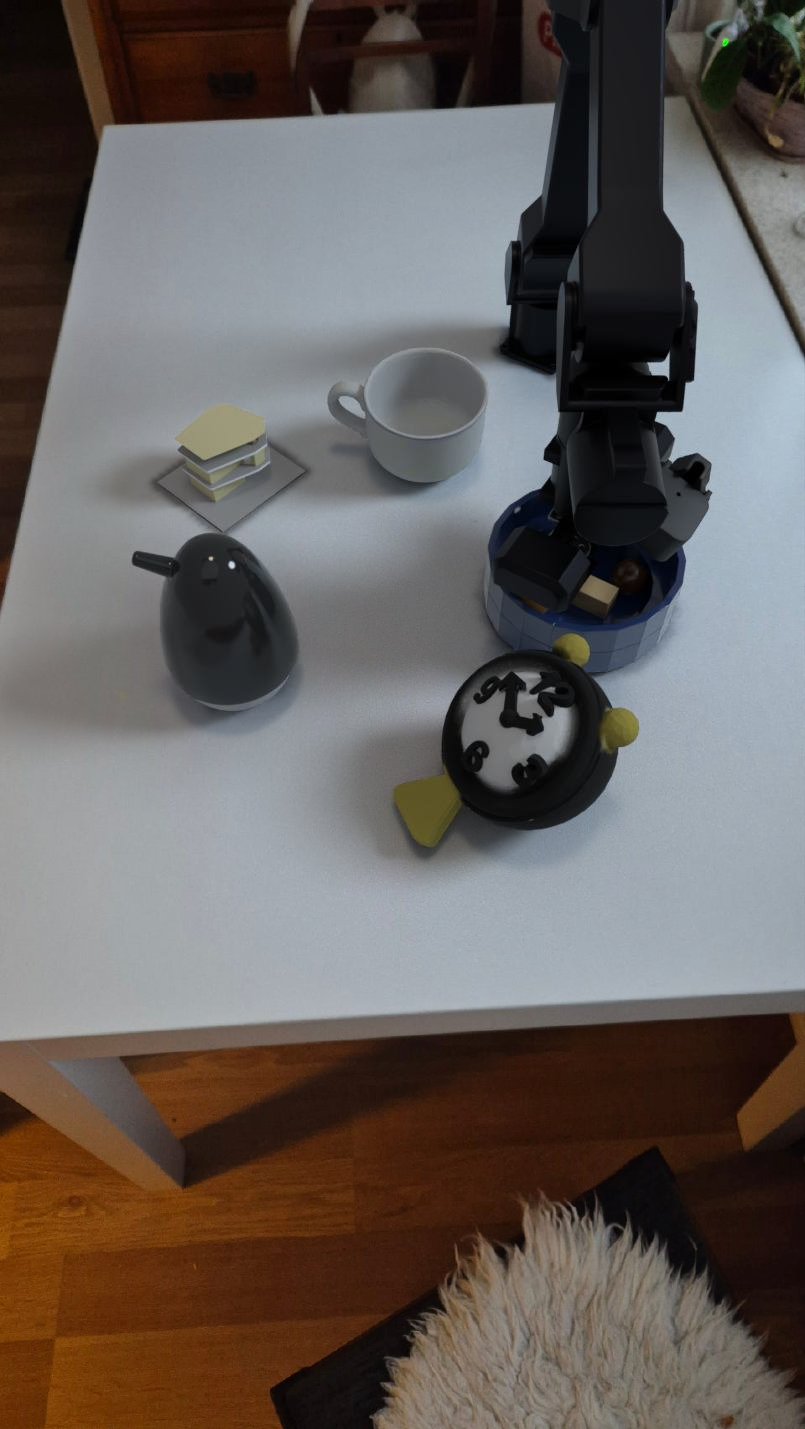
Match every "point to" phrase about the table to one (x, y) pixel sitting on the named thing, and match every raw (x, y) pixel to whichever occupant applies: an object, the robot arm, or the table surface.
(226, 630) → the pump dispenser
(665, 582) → the bowl
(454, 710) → the alarm clock
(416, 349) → the teacup
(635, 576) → the bead
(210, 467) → the stacked layers on plate
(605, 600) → the stick
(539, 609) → the bead
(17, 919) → the table surface
